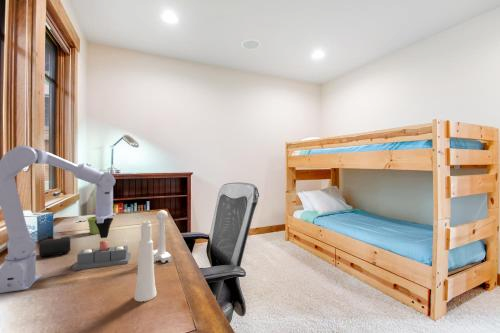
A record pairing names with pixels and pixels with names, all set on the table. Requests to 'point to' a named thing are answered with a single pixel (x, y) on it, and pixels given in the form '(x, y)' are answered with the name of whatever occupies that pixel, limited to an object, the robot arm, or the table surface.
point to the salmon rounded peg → (104, 245)
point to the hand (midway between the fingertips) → (104, 237)
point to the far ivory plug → (119, 248)
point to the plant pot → (93, 225)
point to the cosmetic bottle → (145, 266)
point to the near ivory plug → (87, 251)
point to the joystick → (161, 239)
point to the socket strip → (101, 258)
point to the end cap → (54, 246)
